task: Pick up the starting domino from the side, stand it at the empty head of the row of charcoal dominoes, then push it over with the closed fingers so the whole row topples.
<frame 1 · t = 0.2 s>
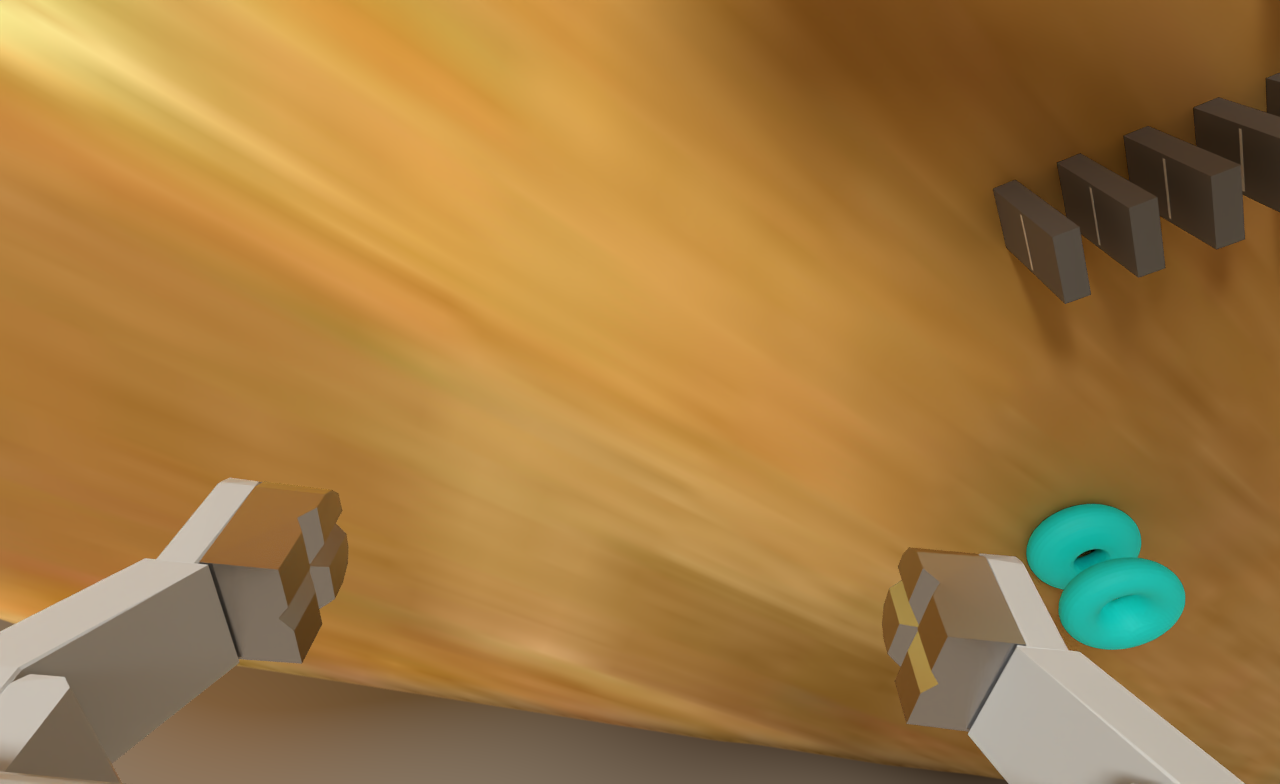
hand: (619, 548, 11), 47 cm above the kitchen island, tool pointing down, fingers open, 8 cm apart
domino 5: (1208, 136, 53), on the kitchen island
domino 4: (1139, 163, 54), on the kitchen island
domino 2: (1010, 214, 56), on the kitchen island
donuts: (1074, 535, 73), on the kitchen island
domino 3: (1073, 189, 55), on the kitchen island
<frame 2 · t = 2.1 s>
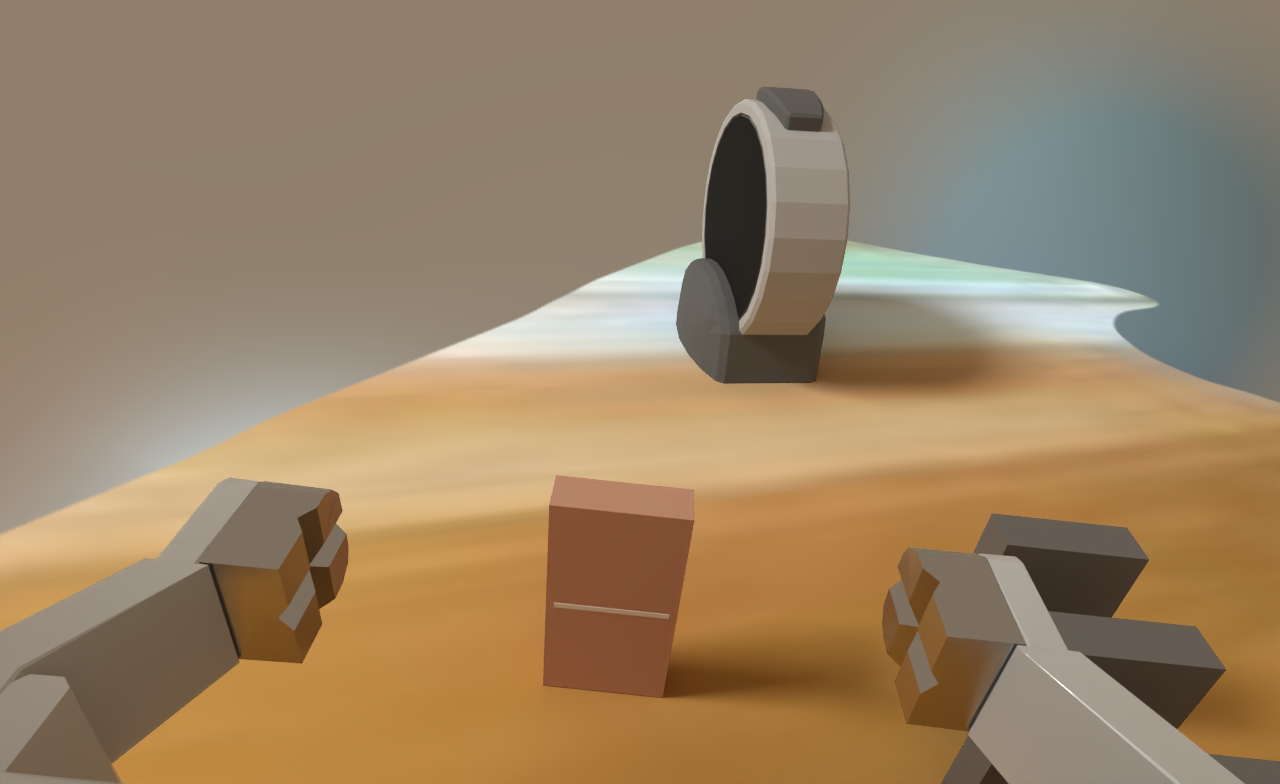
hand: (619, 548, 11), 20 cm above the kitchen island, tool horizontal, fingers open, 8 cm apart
alarm clock: (743, 341, 58), on the kitchen island
domino 6: (974, 704, 32), on the kitchen island
starting domino: (604, 674, 32), on the kitchen island
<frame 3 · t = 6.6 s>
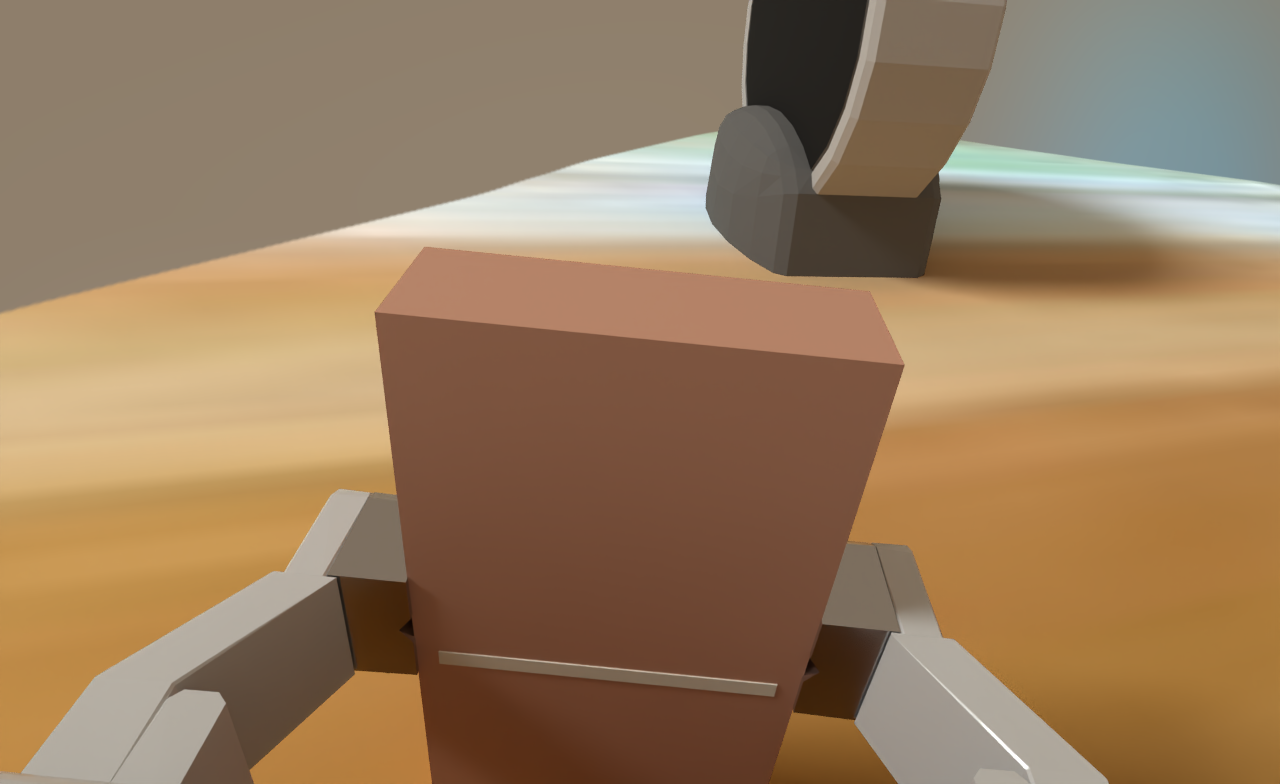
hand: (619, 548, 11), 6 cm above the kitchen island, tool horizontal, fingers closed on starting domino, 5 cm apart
alarm clock: (805, 229, 39), on the kitchen island
when the fingers open (7 cm above the kitchen island, at t = 13.3 s): starting domino drops 1 cm, on the kitchen island.
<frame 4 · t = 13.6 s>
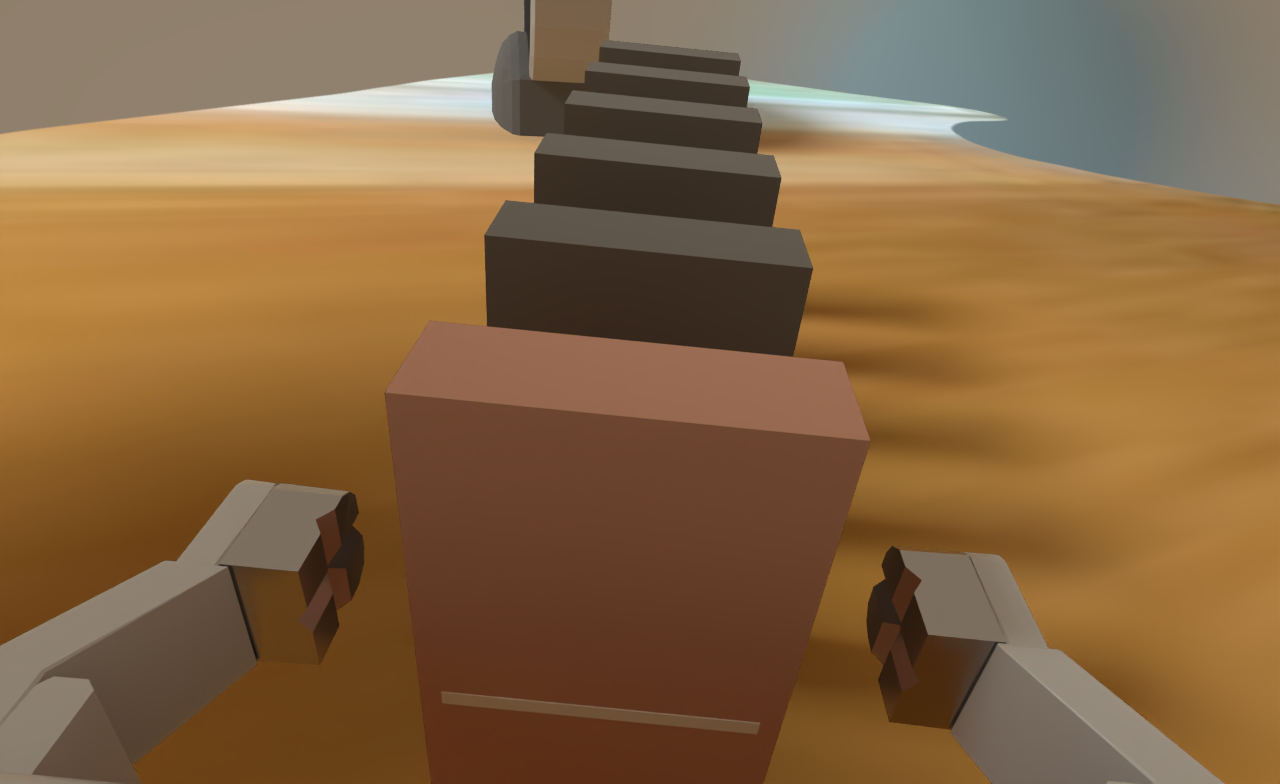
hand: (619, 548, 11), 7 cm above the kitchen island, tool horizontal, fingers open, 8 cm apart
domino 5: (640, 351, 29), on the kitchen island
domino 4: (633, 418, 25), on the kitchen island
domino 2: (610, 640, 17), on the kitchen island
alarm clock: (559, 118, 58), on the kitchen island
domino 6: (645, 299, 33), on the kitchen island
domino 3: (624, 509, 21), on the kitchen island
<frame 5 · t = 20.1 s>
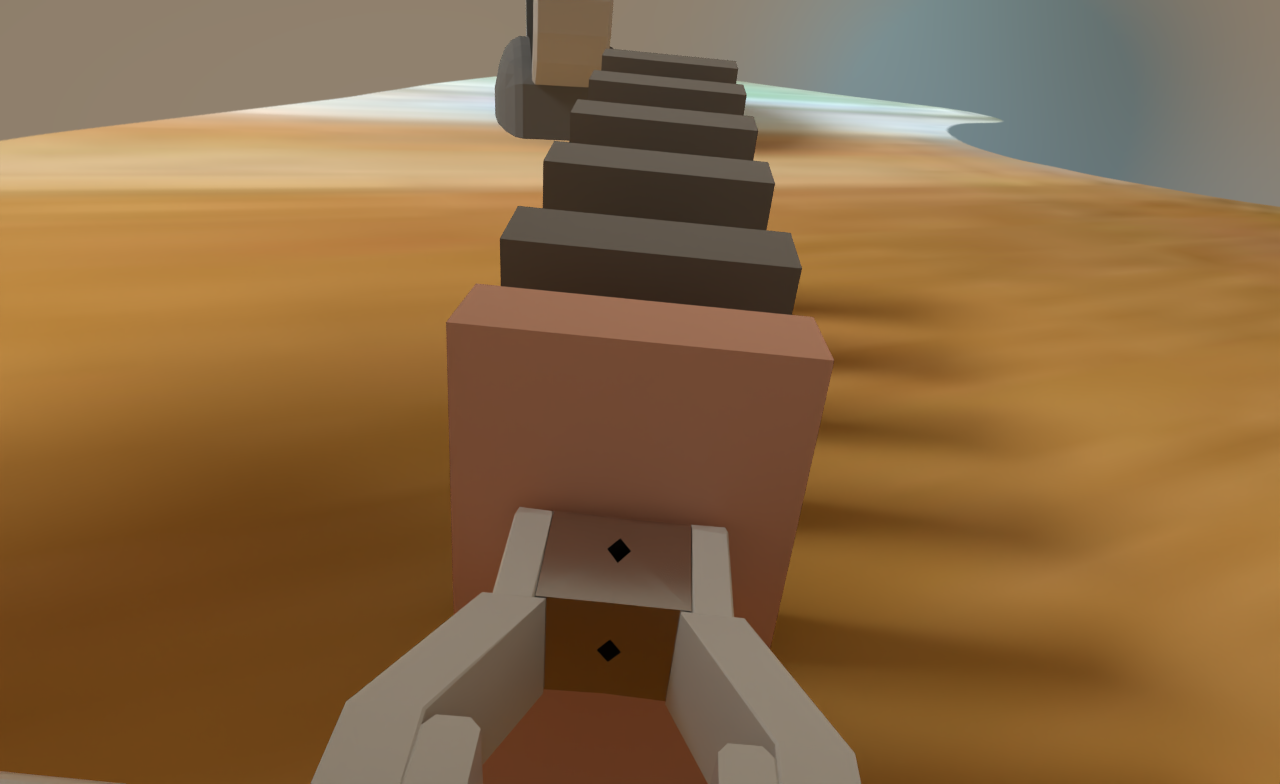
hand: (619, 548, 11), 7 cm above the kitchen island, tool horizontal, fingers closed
domino 5: (641, 348, 30), on the kitchen island
domino 4: (635, 413, 26), on the kitchen island
domino 2: (615, 620, 19), on the kitchen island
alarm clock: (561, 121, 59), on the kitchen island
domino 6: (646, 298, 34), on the kitchen island
domino 3: (627, 499, 22), on the kitchen island
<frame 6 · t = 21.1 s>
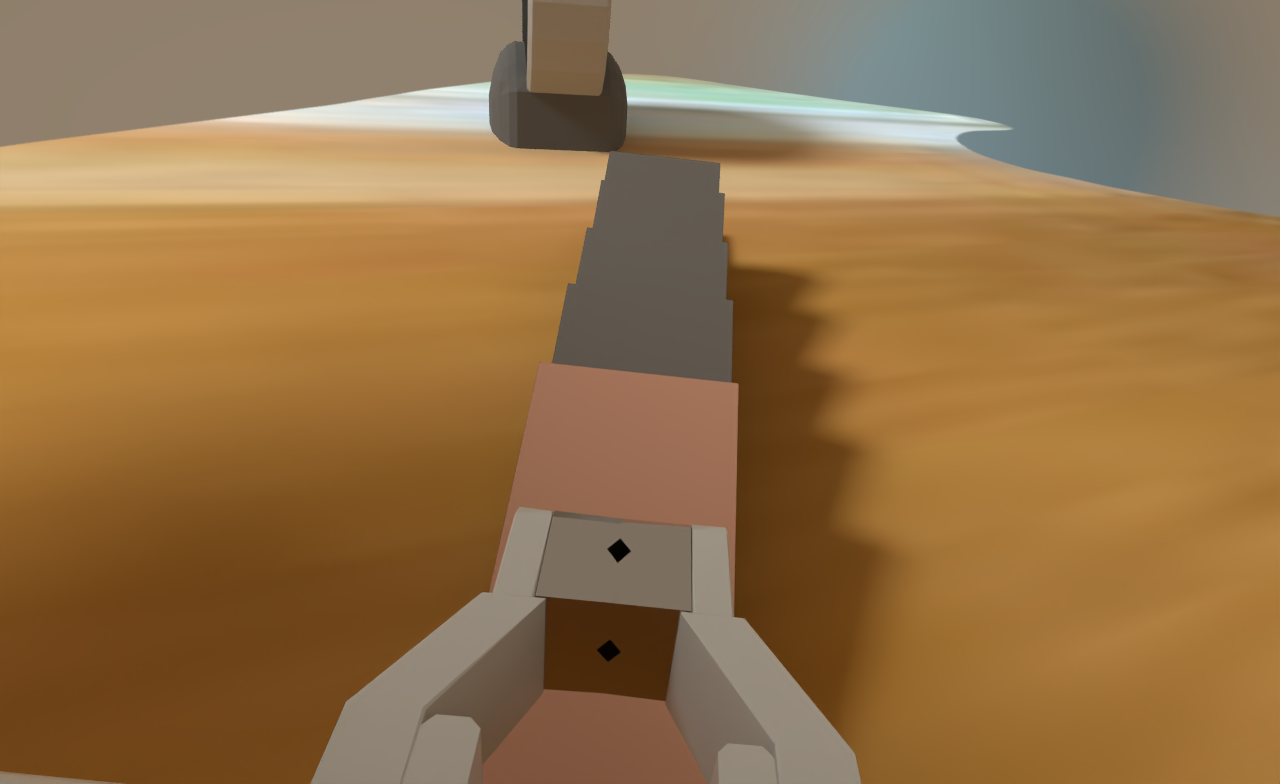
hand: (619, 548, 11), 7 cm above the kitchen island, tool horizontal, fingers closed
domino 5: (643, 341, 29), point 1 cm above the kitchen island, tilted 67°, touching domino 4, domino 6
domino 4: (639, 403, 25), point 1 cm above the kitchen island, tilted 67°, touching domino 3, domino 5
domino 2: (614, 629, 17), point 1 cm above the kitchen island, tilted 69°, touching domino 3, starting domino
alarm clock: (557, 129, 57), on the kitchen island
domino 3: (626, 497, 21), point 1 cm above the kitchen island, tilted 69°, touching domino 2, domino 4
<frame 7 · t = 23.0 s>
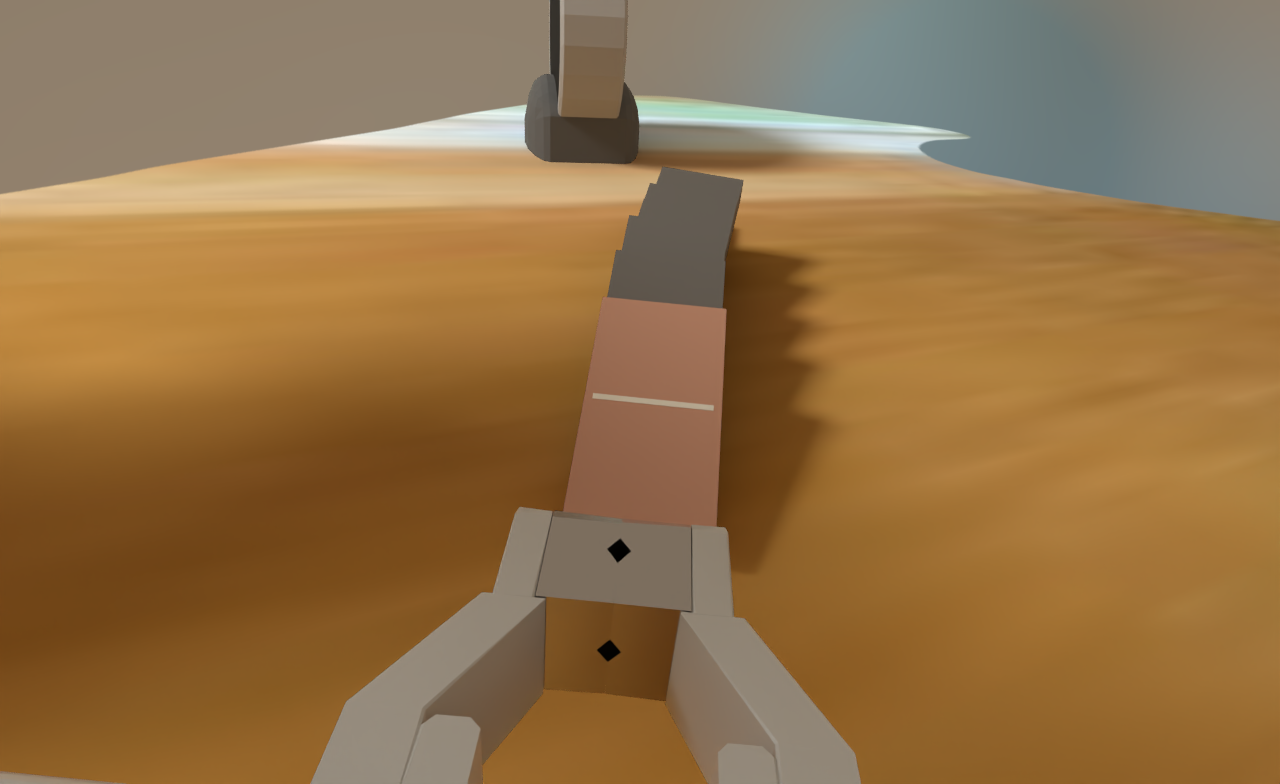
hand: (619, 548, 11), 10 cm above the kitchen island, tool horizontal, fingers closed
domino 5: (667, 296, 40), point 1 cm above the kitchen island, tilted 70°, touching domino 4, domino 6
domino 4: (655, 332, 37), point 1 cm above the kitchen island, tilted 69°, touching domino 3, domino 5
domino 2: (646, 450, 29), point 1 cm above the kitchen island, tilted 69°, touching domino 3, starting domino
alarm clock: (581, 145, 69), on the kitchen island
domino 3: (653, 387, 33), point 1 cm above the kitchen island, tilted 68°, touching domino 2, domino 4
starting domino: (637, 537, 25), point 1 cm above the kitchen island, tilted 70°, touching domino 2
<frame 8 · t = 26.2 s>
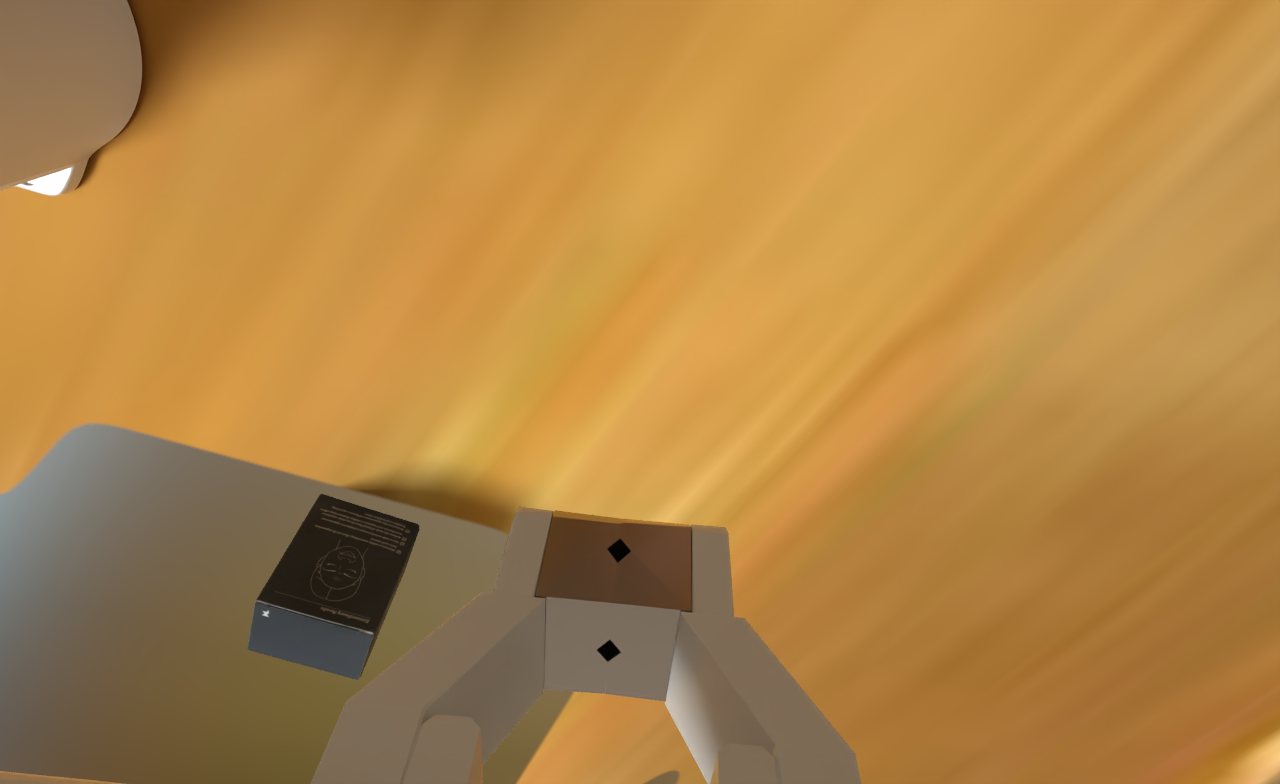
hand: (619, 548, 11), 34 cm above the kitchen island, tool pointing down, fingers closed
box: (366, 530, 59), on the kitchen island
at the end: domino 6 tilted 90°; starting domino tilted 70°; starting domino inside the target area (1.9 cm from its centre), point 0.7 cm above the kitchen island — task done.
